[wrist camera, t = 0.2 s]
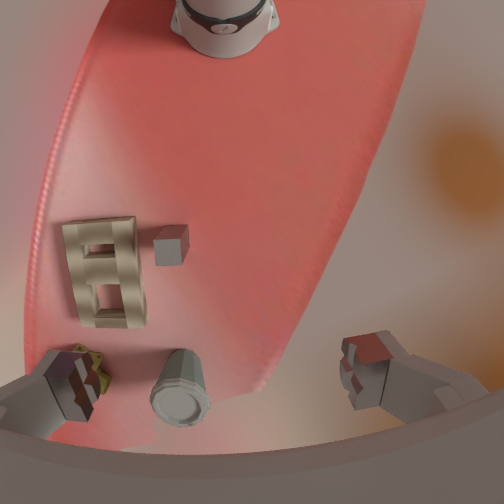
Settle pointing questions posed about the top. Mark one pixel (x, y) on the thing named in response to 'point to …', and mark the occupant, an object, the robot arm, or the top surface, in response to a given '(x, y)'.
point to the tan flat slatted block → (106, 271)
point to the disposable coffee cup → (181, 391)
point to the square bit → (171, 245)
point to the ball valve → (103, 377)
